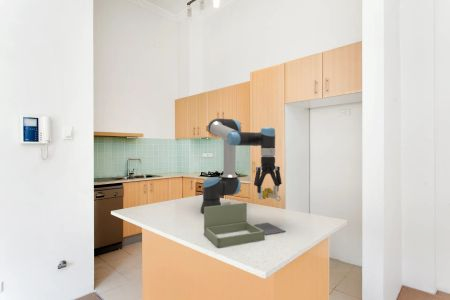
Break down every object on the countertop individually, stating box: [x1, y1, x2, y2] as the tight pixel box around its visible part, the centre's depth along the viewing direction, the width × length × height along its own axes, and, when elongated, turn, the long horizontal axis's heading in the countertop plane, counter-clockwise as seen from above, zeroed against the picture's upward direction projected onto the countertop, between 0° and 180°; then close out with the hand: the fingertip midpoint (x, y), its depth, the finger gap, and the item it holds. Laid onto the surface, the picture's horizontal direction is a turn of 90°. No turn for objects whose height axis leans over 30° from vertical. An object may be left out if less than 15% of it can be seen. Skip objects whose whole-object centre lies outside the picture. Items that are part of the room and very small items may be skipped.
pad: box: [253, 222, 286, 236], centre depth 132 cm, size 16×12×1 cm
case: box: [203, 201, 266, 249], centre depth 120 cm, size 18×24×15 cm
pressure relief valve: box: [262, 187, 281, 202], centre depth 131 cm, size 6×12×10 cm
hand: (268, 198), depth 131 cm, fingers closed on pressure relief valve, 9 cm apart
